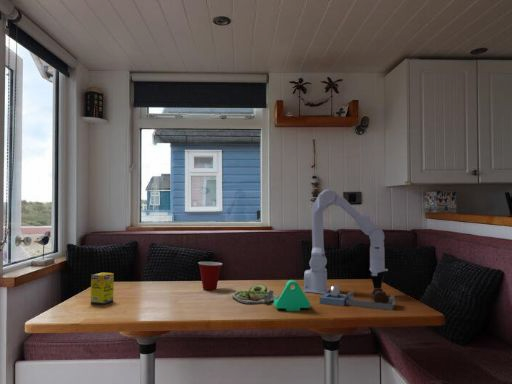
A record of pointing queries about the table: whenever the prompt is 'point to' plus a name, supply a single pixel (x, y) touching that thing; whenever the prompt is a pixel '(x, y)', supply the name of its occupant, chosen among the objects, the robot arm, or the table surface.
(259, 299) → the salad plate
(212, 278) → the plastic cup
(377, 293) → the bolt
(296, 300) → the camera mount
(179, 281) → the table surface
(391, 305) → the mount bracket
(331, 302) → the socket
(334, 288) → the grey metal cylinder
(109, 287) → the supplement box
